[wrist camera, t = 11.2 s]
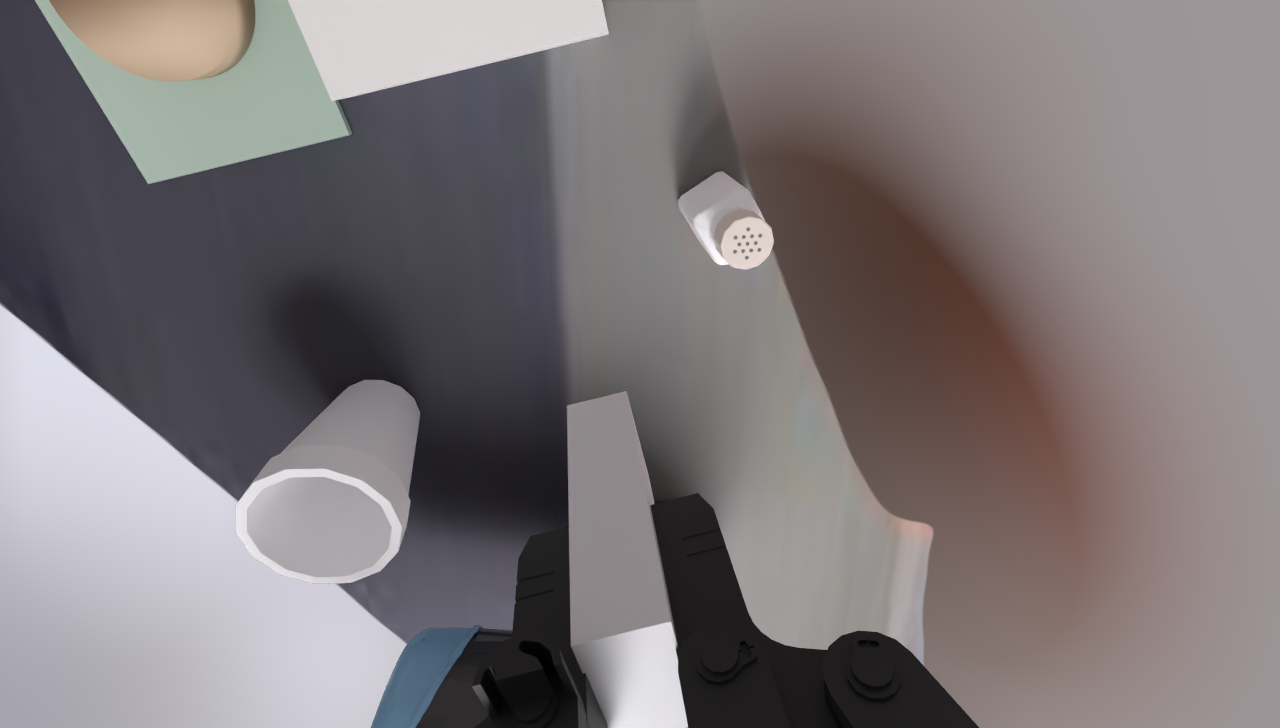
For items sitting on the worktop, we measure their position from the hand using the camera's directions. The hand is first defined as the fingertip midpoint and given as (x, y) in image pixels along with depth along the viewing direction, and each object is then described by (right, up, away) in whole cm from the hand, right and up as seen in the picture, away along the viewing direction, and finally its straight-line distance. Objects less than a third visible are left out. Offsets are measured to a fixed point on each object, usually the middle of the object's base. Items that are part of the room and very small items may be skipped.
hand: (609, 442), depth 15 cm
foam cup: (-20, -2, +32) cm, 38 cm away
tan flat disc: (-25, +23, +17) cm, 38 cm away
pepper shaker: (+6, +13, +27) cm, 31 cm away
